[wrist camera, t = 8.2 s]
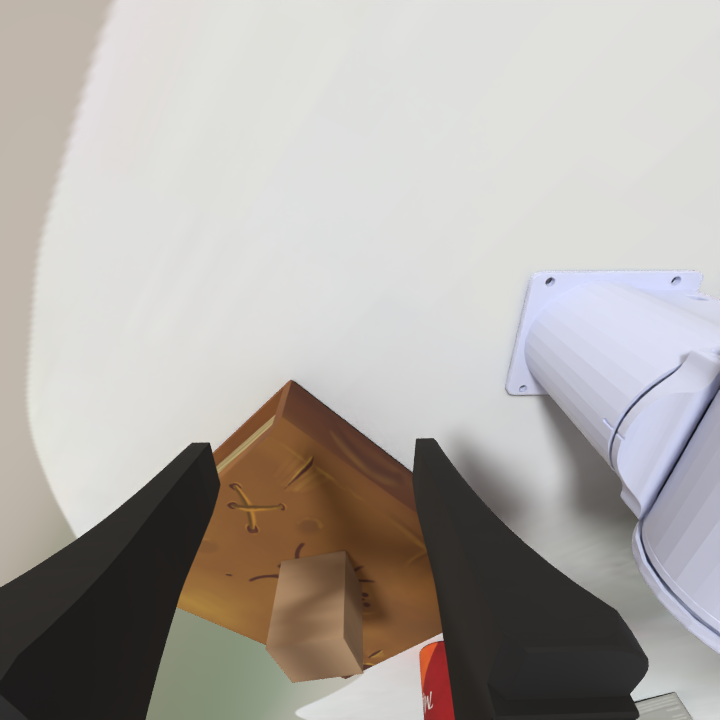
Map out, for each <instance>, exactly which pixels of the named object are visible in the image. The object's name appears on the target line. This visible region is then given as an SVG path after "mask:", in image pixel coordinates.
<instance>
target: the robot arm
mask: <svg viewBox="0 0 720 720" xmlns="http://www.w3.org/2000/svg"><path fill="white" fill-rule="evenodd" d="M550 277H552V280H551V282H550V283H549V284H545V282H546V280H547V279H548V278H550ZM675 277H676V278H675ZM673 278H675V280H674V282H672V283H671V281H672V279H673ZM702 280H703V274H702V273H701V272H698V271H694V270H665V271H540V272H536V273H535V274H533V275H532V276H531V278H530V280H529V285H528V289H527V294H526V298H525V302H524V307H523V311H522V316H521V320H520V324H519V329H518V333H517V338H516V342H515V347H514V351H513V355H512V360H511V364H510V369H509V373H508V377H507V382H506V390H507V392H508V393H509V394H511V395H545V394H549V395H550V396H551V397H552V399H553V400H554V401H555V402H556V403H557V404H558V406H559V407H560V408H561V409H562V410H563V412H564V413H565V414H566V415H567V416H568V417H569V419H570V420H571V421H572V422H573V423H574V425H575V426H576V427H577V428H578V429H579V430H580V432H581V433H582V434H583V435H584V436H585V438H586V439H587V440H588V441H589V442H590V443H591V445H592V446H593V447H594V448H595V449H596V450H597V452H598V453H599V454H600V455H601V456H602V458H603V459H604V460H605V461H606V462H607V463H608V465H609V466H610V467H611V468H612V469H613V471H614V472H615V473H616V474H617V475H618V476H619V478H620V479H621V481H622V492H621V495H620V497H621V498H622V499H623V501H624V502H625V503H626V504H627V506H628V507H629V508H630V509H631V511H632V512H633V513H634V514H635V516H636V517H637V518H638V519H639V521H638V523H637V524H636V526H635V529H634V531H633V534H632V550H633V556H634V559H635V561H636V564H637V567H638V569H639V571H640V573H641V575H642V576H643V578H644V580H645V582H646V583H647V585H648V586H649V588H650V589H651V590H652V592H653V593H654V595H655V596H656V597H657V599H658V600H659V601H660V602H661V603H662V604H663V605H664V607H665V608H666V609H667V610H668V611H669V612H670V613H671V614H672V615H673V616H674V617H675V618H676V619H677V620H678V621H679V622H680V623H681V624H682V625H683V626H684V627H685V628H686V629H687V630H689V631H690V632H691V633H692V634H693V635H695V636H696V637H697V638H698V639H700V640H701V641H702V642H703V643H704V644H706V645H707V646H709V647H710V648H711V649H713V650H714V651H716V652H717V653H719V654H720V299H717V298H715V297H712V296H709V295H706V294H704V293H701V292H698V289H699V287H700V284H701V282H702ZM523 385H525V386H524V387H523V388H521V389H519V388H520V387H521V386H523ZM412 483H413V490H414V498H415V504H416V510H417V514H418V518H419V522H420V526H421V530H422V534H423V538H424V542H425V546H426V550H427V554H428V558H429V562H430V565H431V569H432V574H433V578H434V583H435V588H436V594H437V600H438V606H439V612H440V619H441V625H442V632H443V638H444V645H445V652H446V658H447V666H448V673H449V680H450V687H451V694H452V702H453V710H454V717H455V720H636V719H638V718H639V717H640V715H639V711H638V709H637V707H636V705H635V703H634V701H633V699H632V697H631V696H630V693H631V692H632V691H633V690H634V688H635V687H636V686H637V685H638V684H639V682H640V681H641V680H642V679H643V678H644V676H645V674H646V672H647V670H648V666H649V665H648V658H647V656H646V655H645V653H644V651H643V650H642V648H641V646H640V645H639V643H638V641H637V640H636V638H635V636H634V635H633V633H632V632H631V630H630V628H629V627H628V626H627V624H626V623H625V622H624V620H623V619H622V617H621V616H620V614H619V613H618V611H617V610H615V609H614V608H612V607H611V606H609V605H608V604H606V603H605V602H603V601H602V600H600V599H599V598H597V597H596V596H594V595H593V594H591V593H590V592H588V591H587V590H585V589H584V588H582V587H581V586H579V585H578V584H576V583H575V582H574V581H572V580H571V579H570V578H568V577H567V576H566V575H564V574H563V573H561V572H560V571H559V570H557V569H556V568H555V567H553V566H552V565H551V564H550V563H548V562H547V561H546V560H545V559H544V558H542V557H541V556H540V555H539V554H538V553H536V552H535V551H534V550H533V549H532V548H530V547H529V546H528V545H527V544H525V543H524V542H523V541H522V540H521V539H520V538H519V537H518V536H517V535H516V534H514V533H513V532H512V531H511V530H510V529H509V528H508V527H507V526H506V525H505V524H504V523H503V522H502V521H501V520H500V519H499V518H498V517H497V516H496V515H495V514H494V513H493V512H492V511H491V510H490V509H489V508H488V507H487V506H486V505H485V503H484V502H483V501H482V500H481V499H480V498H479V497H478V496H477V494H476V493H475V492H474V491H473V490H472V489H471V487H470V486H469V485H468V484H467V482H466V481H465V480H464V479H463V477H462V476H461V475H460V474H459V472H458V471H457V470H456V468H455V467H454V466H453V464H452V463H451V462H450V460H449V459H448V458H447V456H446V455H445V453H444V452H443V450H442V449H441V447H440V446H439V444H438V443H437V441H436V440H435V439H434V438H422V439H416V445H415V456H414V467H413V478H412ZM220 486H221V483H220V480H219V476H218V472H217V468H216V465H215V461H214V457H213V453H212V449H211V446H210V443H191V444H190V445H189V446H188V447H187V448H186V449H185V450H183V451H182V452H181V453H180V454H179V455H178V456H177V457H176V458H175V459H174V460H173V461H172V462H171V463H169V464H168V465H167V466H166V467H165V468H164V469H163V470H162V471H161V472H160V473H159V474H157V475H156V476H155V477H154V478H153V479H152V480H151V481H150V482H149V483H147V484H146V485H145V486H144V487H143V488H142V489H141V490H139V491H138V492H137V493H136V494H135V495H133V496H132V497H131V498H130V499H129V500H127V501H126V502H125V503H124V504H123V505H121V506H120V507H119V508H118V509H117V510H115V511H114V512H113V513H112V514H110V515H109V516H108V517H107V518H105V519H104V520H103V521H101V522H100V523H99V524H97V525H96V526H95V527H93V528H92V529H91V530H89V531H88V532H86V533H85V534H84V535H82V536H81V537H80V538H78V539H77V540H75V541H74V542H72V543H71V544H69V545H68V546H66V547H65V548H63V549H62V550H60V551H59V552H57V553H56V554H54V555H52V556H51V557H49V558H48V559H46V560H45V561H43V562H42V563H40V564H39V565H37V566H36V567H34V568H32V569H31V570H29V571H27V572H26V573H24V574H23V575H21V576H19V577H18V578H16V579H14V580H13V581H11V582H9V583H7V584H6V585H4V586H2V587H0V720H145V719H146V715H147V711H148V707H149V703H150V699H151V695H152V691H153V688H154V684H155V680H156V676H157V672H158V668H159V665H160V661H161V657H162V654H163V651H164V647H165V643H166V640H167V636H168V633H169V629H170V626H171V623H172V619H173V617H174V613H175V610H176V607H177V604H178V600H179V597H180V594H181V591H182V589H183V586H184V583H185V580H186V578H187V575H188V573H189V571H190V568H191V566H192V563H193V561H194V559H195V556H196V554H197V551H198V549H199V547H200V544H201V542H202V539H203V537H204V534H205V532H206V530H207V527H208V525H209V522H210V520H211V517H212V515H213V512H214V508H215V505H216V501H217V498H218V494H219V490H220Z"/></svg>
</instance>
